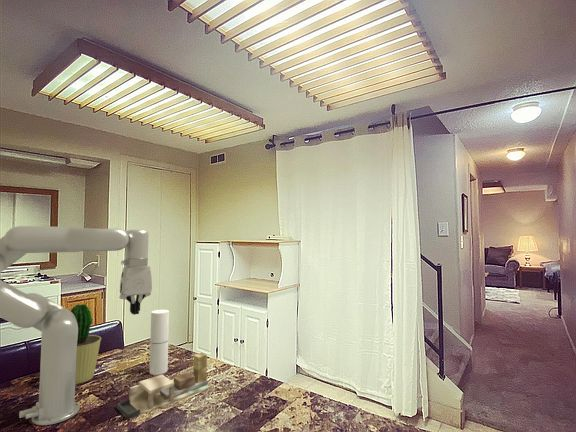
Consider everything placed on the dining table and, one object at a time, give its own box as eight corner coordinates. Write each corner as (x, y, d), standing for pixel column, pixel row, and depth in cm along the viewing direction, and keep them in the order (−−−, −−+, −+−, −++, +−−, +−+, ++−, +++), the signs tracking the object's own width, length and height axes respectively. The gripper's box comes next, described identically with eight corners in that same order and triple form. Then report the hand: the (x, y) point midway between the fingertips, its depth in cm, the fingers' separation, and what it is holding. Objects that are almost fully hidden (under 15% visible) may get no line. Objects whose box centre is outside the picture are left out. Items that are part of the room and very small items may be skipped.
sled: (166, 398, 115) (167, 367, 116) (159, 393, 119) (160, 363, 119) (208, 383, 127) (208, 355, 127) (200, 379, 131) (201, 351, 131)
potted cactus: (108, 371, 140) (110, 299, 141) (81, 388, 124) (85, 307, 126) (74, 369, 141) (77, 298, 143) (44, 385, 126) (47, 306, 128)
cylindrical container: (155, 376, 135) (157, 314, 137) (146, 371, 139) (147, 311, 141) (170, 370, 141) (172, 311, 142) (161, 366, 145) (163, 308, 146)
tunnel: (127, 419, 104) (127, 398, 104) (116, 408, 110) (117, 388, 111) (210, 388, 125) (210, 370, 125) (196, 380, 132) (197, 363, 132)
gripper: (118, 265, 114) (116, 319, 113) (160, 262, 124) (159, 312, 123) (111, 263, 119) (109, 315, 118) (152, 261, 129) (150, 308, 128)
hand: (134, 313), depth 121 cm, fingers closed
